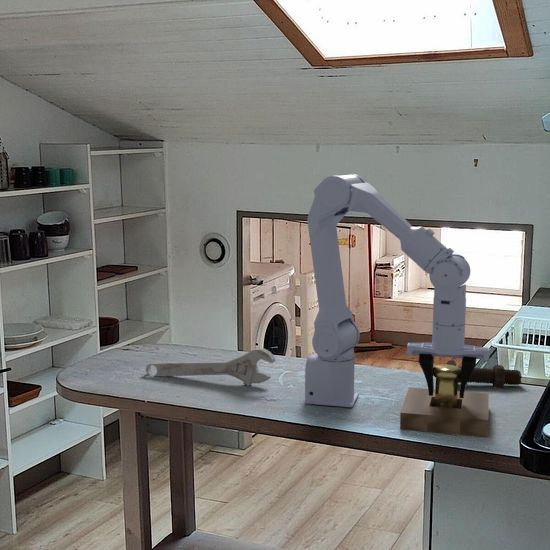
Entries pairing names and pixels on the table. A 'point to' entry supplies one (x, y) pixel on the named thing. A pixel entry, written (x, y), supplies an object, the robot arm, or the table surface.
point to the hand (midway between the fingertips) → (446, 395)
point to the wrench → (219, 367)
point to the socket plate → (445, 413)
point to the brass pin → (446, 385)
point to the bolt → (493, 375)
